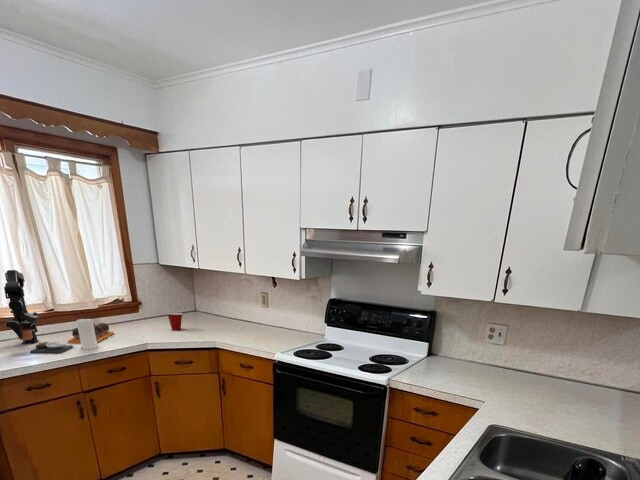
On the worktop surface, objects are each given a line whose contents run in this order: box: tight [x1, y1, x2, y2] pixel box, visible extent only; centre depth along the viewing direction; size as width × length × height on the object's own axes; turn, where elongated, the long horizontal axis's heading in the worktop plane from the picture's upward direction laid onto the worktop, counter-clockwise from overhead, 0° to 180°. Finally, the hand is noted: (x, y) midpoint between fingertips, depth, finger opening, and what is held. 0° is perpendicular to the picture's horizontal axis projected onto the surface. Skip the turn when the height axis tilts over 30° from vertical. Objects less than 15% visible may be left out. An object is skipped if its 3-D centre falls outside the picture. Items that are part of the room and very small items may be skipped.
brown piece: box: [67, 322, 115, 344], centre depth 270 cm, size 28×17×8 cm, turn 4°
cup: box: [76, 318, 98, 350], centre depth 247 cm, size 8×8×16 cm
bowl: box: [16, 329, 33, 341], centre depth 235 cm, size 7×7×5 cm
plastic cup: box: [166, 311, 184, 332], centre depth 300 cm, size 11×11×12 cm
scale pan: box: [43, 341, 66, 347], centre depth 241 cm, size 14×11×1 cm
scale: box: [29, 344, 74, 355], centre depth 241 cm, size 16×14×3 cm
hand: (25, 337), depth 236 cm, fingers closed on bowl, 7 cm apart
